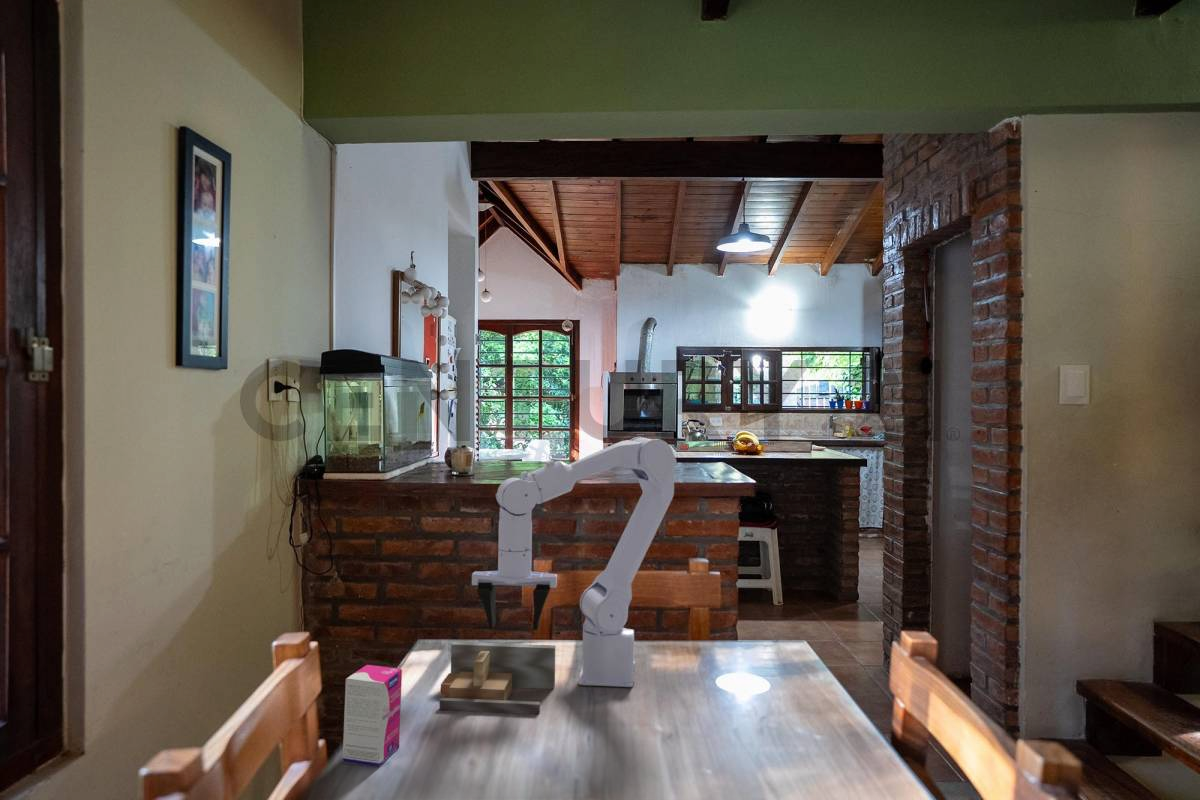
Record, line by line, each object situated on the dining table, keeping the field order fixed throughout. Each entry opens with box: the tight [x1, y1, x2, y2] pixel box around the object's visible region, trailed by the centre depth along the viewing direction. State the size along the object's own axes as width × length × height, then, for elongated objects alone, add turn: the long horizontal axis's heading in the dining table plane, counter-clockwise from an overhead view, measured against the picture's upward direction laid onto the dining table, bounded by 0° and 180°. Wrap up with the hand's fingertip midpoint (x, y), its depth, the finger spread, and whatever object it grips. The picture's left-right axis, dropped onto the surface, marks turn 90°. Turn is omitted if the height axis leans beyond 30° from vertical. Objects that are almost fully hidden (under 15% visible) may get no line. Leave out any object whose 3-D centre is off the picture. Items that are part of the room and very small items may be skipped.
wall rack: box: [439, 641, 556, 715], centre depth 120 cm, size 18×12×7 cm, turn 86°
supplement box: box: [341, 664, 403, 768], centre depth 100 cm, size 6×6×12 cm
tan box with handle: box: [448, 651, 513, 701], centre depth 120 cm, size 9×7×7 cm
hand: (514, 627), depth 124 cm, fingers open, 7 cm apart
